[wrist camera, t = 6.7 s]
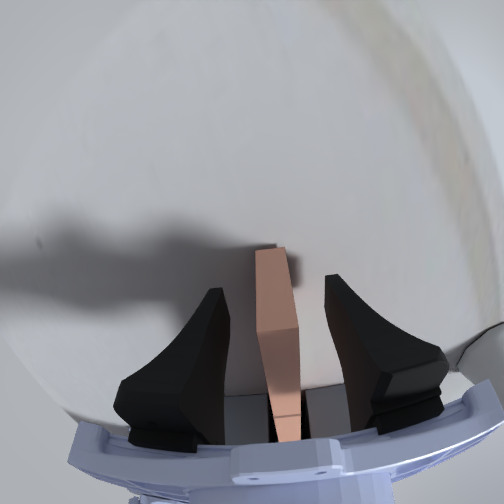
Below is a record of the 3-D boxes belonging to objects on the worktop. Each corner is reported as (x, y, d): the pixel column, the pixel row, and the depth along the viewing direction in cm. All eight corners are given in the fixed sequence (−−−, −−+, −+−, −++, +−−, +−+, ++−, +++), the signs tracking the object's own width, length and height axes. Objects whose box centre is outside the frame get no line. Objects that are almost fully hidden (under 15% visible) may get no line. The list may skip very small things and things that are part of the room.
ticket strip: (279, 406, 22) (282, 459, 17) (255, 250, 14) (255, 332, 9) (295, 404, 22) (300, 457, 17) (285, 246, 13) (299, 327, 9)
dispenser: (227, 436, 27) (225, 488, 21) (203, 396, 21) (195, 468, 16) (351, 423, 26) (361, 475, 20) (367, 379, 20) (386, 448, 15)
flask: (458, 346, 19) (498, 433, 11) (512, 310, 17) (558, 384, 9) (453, 378, 23) (481, 450, 14) (500, 348, 21) (534, 412, 12)
